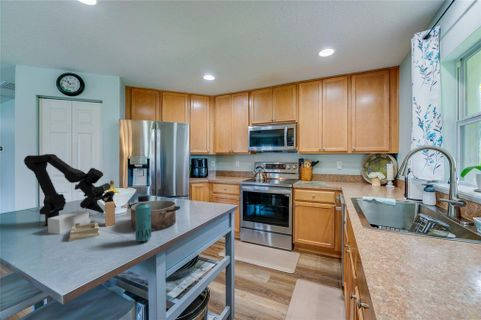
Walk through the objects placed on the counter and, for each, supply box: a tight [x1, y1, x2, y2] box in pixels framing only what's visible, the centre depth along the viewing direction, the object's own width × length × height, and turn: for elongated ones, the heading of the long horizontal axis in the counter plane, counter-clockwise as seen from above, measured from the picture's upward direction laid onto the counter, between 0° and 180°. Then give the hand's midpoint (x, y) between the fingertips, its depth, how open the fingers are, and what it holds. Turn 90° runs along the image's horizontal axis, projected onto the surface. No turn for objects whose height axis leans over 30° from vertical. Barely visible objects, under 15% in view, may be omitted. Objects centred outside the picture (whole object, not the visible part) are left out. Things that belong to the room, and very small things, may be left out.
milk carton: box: [47, 209, 95, 235], centre depth 105 cm, size 7×7×19 cm
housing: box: [68, 220, 100, 242], centre depth 96 cm, size 14×11×4 cm
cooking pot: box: [128, 199, 181, 232], centre depth 109 cm, size 30×22×11 cm
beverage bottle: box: [134, 195, 153, 242], centre depth 88 cm, size 6×7×20 cm
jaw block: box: [104, 201, 116, 227], centre depth 108 cm, size 4×4×12 cm
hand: (109, 209), depth 108 cm, fingers open, 9 cm apart
